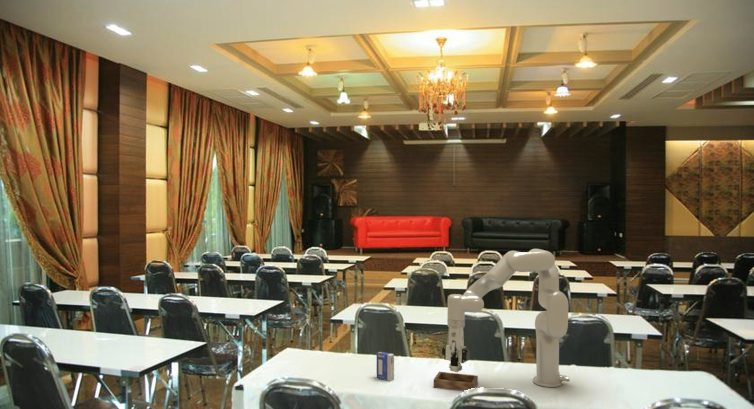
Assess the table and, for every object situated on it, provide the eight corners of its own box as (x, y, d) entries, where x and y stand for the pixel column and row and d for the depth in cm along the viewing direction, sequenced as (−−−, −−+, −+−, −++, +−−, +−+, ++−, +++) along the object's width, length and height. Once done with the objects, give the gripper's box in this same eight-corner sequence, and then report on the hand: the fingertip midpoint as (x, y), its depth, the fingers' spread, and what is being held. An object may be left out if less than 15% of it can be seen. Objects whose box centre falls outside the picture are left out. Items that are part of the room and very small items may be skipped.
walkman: (376, 378, 243) (376, 352, 243) (379, 376, 246) (379, 350, 245) (391, 381, 239) (391, 354, 239) (394, 379, 241) (394, 353, 241)
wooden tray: (477, 383, 236) (477, 375, 236) (473, 392, 226) (473, 384, 226) (439, 379, 242) (439, 371, 242) (433, 387, 231) (433, 379, 231)
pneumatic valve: (465, 375, 228) (466, 347, 228) (441, 369, 235) (441, 342, 235) (470, 371, 233) (471, 344, 233) (446, 366, 239) (447, 339, 239)
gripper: (461, 327, 224) (460, 370, 224) (467, 319, 241) (467, 359, 241) (443, 326, 227) (443, 368, 227) (451, 318, 243) (451, 357, 243)
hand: (455, 363), depth 234 cm, fingers closed on pneumatic valve, 5 cm apart
